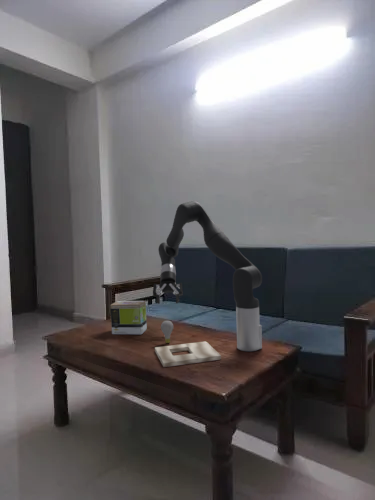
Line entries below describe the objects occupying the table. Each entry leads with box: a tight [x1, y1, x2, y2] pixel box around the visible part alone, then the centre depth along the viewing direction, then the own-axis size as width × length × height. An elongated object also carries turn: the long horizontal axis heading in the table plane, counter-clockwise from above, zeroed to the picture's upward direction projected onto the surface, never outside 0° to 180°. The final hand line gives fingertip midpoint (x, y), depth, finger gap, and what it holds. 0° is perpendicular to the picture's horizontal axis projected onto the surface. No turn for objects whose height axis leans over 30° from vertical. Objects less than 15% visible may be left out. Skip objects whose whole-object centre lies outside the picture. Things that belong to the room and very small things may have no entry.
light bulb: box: [160, 320, 174, 344], centre depth 156 cm, size 6×6×10 cm
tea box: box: [109, 300, 148, 335], centre depth 175 cm, size 15×10×15 cm, turn 80°
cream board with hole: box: [154, 341, 222, 368], centre depth 141 cm, size 22×18×2 cm
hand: (167, 302), depth 167 cm, fingers open, 8 cm apart
